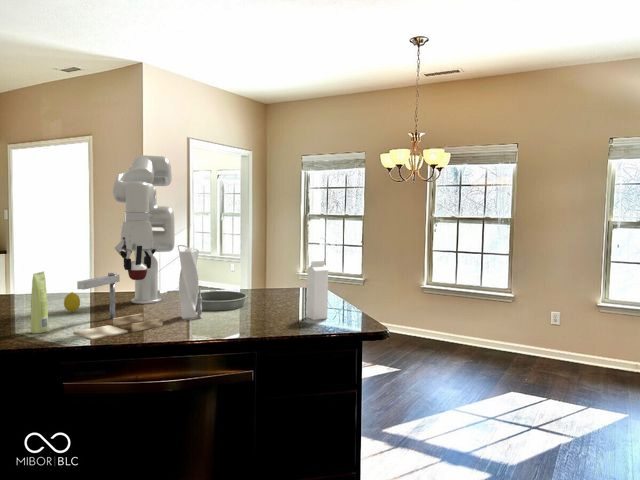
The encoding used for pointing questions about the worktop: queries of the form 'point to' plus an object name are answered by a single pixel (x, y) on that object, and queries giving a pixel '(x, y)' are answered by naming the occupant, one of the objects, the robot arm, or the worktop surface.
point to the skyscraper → (189, 285)
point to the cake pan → (222, 300)
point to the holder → (136, 319)
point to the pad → (100, 332)
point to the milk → (317, 290)
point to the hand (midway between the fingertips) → (137, 268)
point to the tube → (39, 304)
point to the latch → (100, 281)
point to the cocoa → (138, 267)
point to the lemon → (72, 302)
